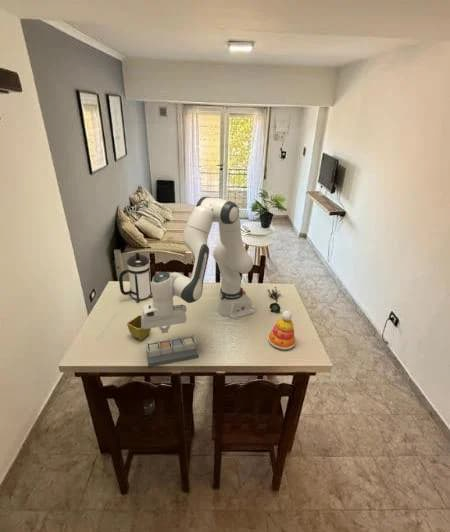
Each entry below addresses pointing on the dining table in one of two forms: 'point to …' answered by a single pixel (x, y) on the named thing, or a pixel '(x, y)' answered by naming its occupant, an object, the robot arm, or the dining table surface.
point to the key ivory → (188, 341)
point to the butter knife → (102, 334)
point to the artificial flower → (274, 306)
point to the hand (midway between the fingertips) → (164, 332)
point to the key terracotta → (165, 345)
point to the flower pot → (137, 328)
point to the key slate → (176, 342)
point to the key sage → (153, 347)
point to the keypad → (171, 352)
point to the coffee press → (137, 277)
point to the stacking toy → (283, 332)
